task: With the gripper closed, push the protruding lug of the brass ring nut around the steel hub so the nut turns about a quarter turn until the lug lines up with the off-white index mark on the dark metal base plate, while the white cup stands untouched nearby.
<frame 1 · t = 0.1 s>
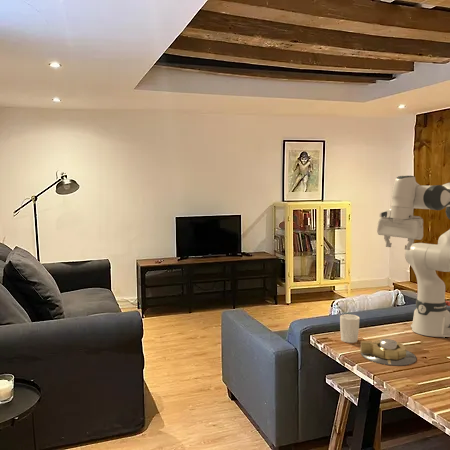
hand: (397, 248, 189), 39 cm above the table, tool pointing down, fingers open, 8 cm apart
ring nut: (382, 348, 176), point 3 cm above the table, hinge at 0.0°
white cup: (349, 340, 193), on the table
hub plate: (388, 355, 176), on the table
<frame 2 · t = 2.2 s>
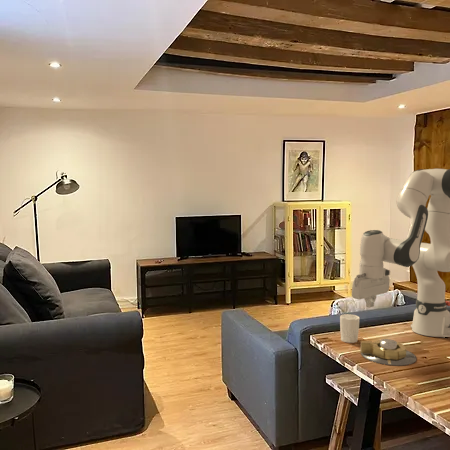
hand: (370, 307, 181), 17 cm above the table, tool pointing down, fingers closed
nothing on the table moved.
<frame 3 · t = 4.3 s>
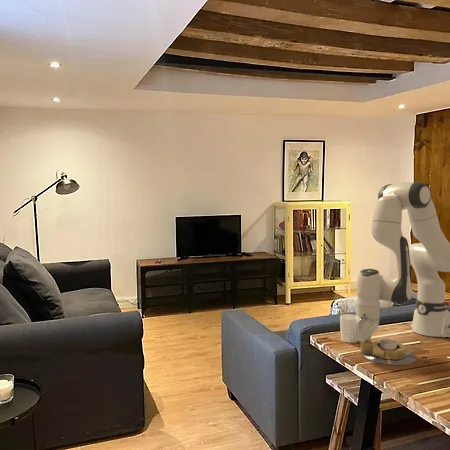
hand: (366, 346, 180), 2 cm above the table, tool pointing down, fingers closed
ring nut: (382, 348, 176), point 3 cm above the table, hinge at 0.0°, touching gripper
everything else where it was.
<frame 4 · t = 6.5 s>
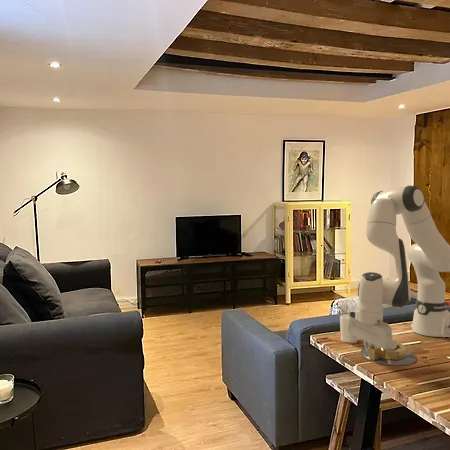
hand: (368, 352, 173), 2 cm above the table, tool pointing down, fingers closed
ring nut: (385, 349, 175), point 3 cm above the table, hinge at 45.2°, touching gripper
everything else where it was.
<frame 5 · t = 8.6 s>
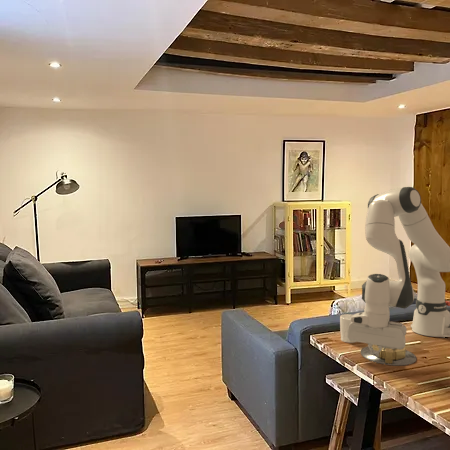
hand: (375, 356, 170), 2 cm above the table, tool pointing down, fingers closed
ring nut: (388, 350, 174), point 3 cm above the table, hinge at 81.3°
everything else where it was.
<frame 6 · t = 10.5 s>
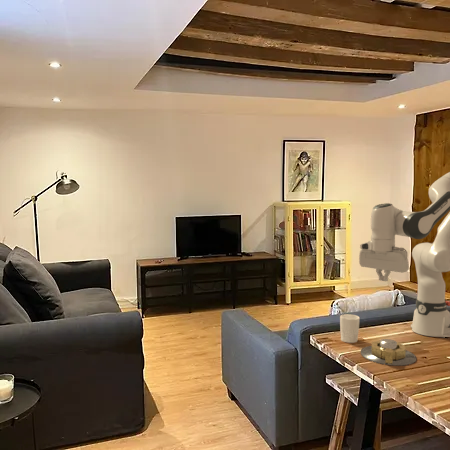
hand: (383, 280, 181), 27 cm above the table, tool pointing down, fingers closed
nothing on the table moved.
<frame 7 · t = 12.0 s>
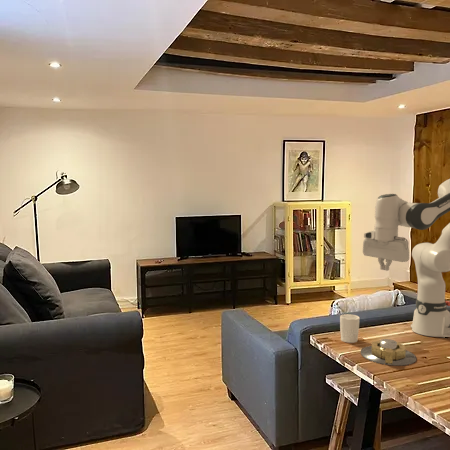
hand: (384, 270, 183), 31 cm above the table, tool pointing down, fingers closed
nothing on the table moved.
at the end: ring nut at +81° (first picture: +0°); white cup moved 0.2 cm from its start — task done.
